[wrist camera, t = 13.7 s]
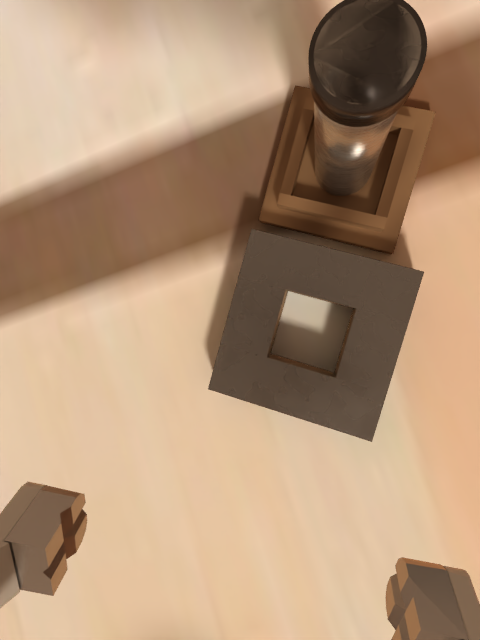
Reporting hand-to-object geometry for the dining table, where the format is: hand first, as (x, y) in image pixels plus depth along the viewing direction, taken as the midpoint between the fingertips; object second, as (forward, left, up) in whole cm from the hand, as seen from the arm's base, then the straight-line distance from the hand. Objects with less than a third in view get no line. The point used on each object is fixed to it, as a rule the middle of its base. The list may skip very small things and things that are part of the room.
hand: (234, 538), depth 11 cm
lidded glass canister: (0, +16, -21) cm, 26 cm away
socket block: (+1, +4, -21) cm, 22 cm away
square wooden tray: (0, +16, -21) cm, 27 cm away
